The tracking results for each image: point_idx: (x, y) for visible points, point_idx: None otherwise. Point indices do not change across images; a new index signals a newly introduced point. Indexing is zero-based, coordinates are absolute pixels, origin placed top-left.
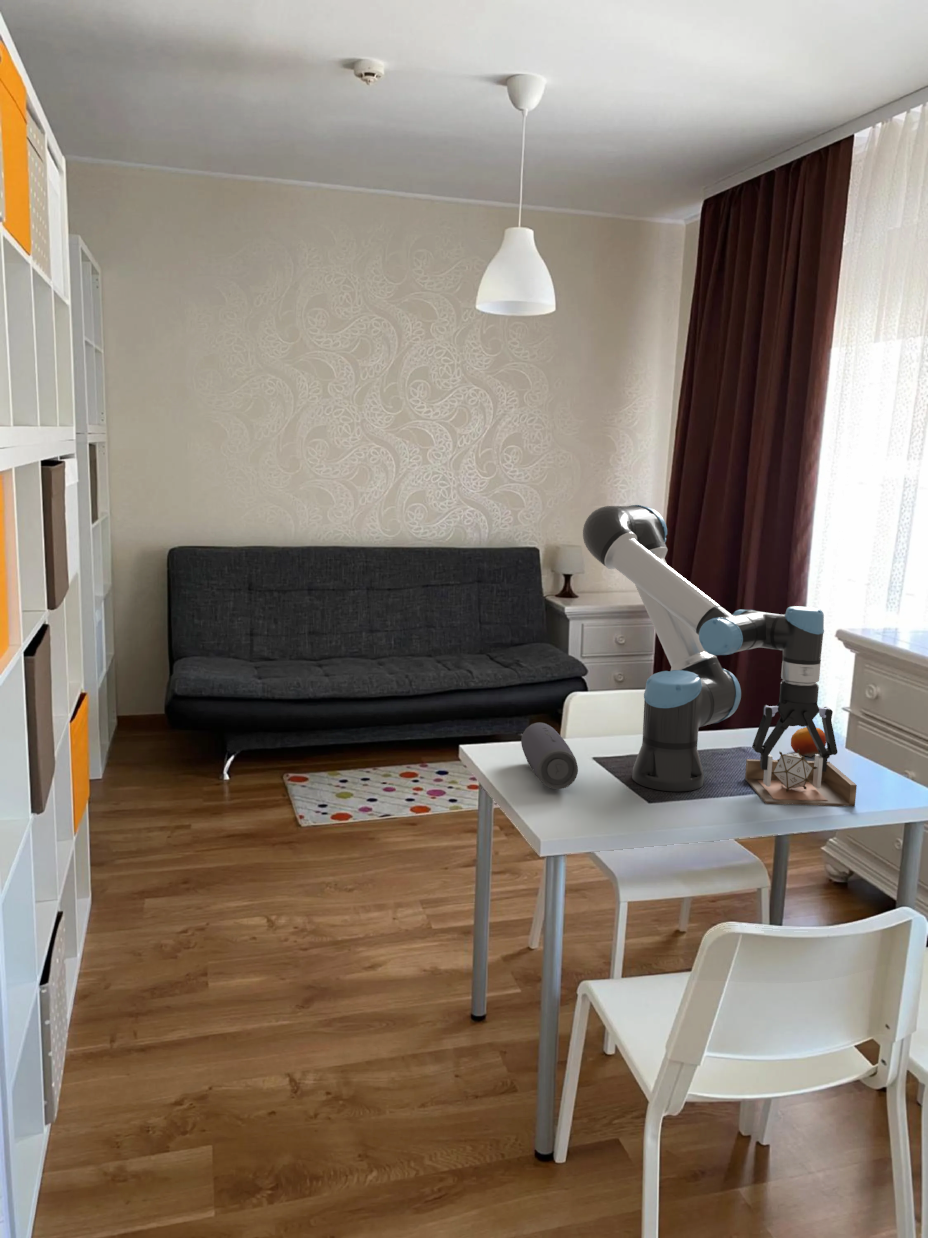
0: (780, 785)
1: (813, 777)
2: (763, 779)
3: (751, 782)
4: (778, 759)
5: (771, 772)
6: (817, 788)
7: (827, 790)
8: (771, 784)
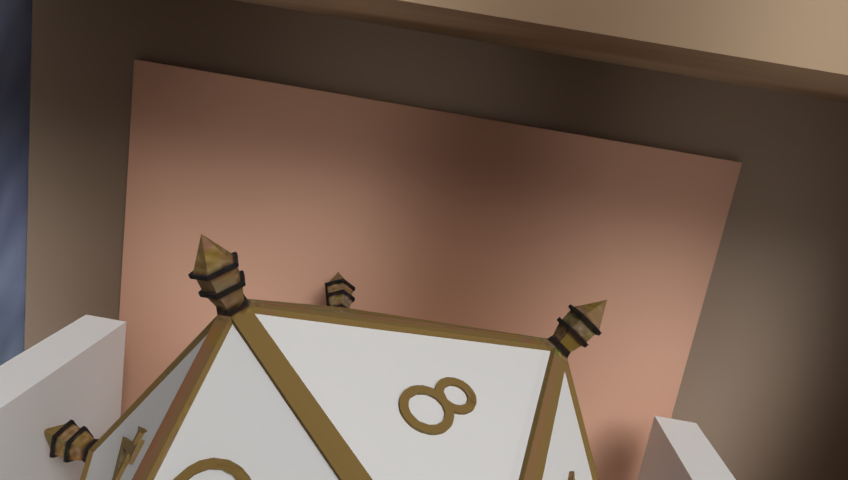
0: (326, 273)
1: (679, 471)
2: (61, 333)
3: (44, 124)
4: (204, 278)
5: (65, 458)
6: (706, 382)
7: (779, 447)
8: (237, 234)
